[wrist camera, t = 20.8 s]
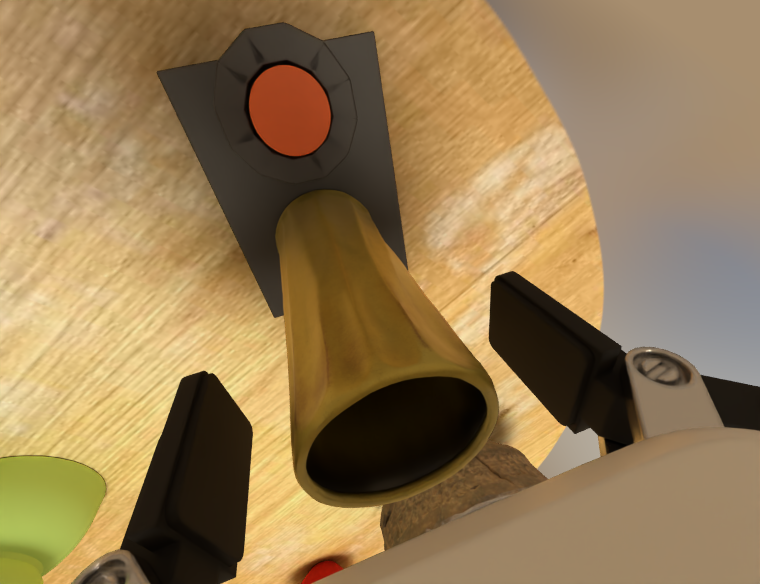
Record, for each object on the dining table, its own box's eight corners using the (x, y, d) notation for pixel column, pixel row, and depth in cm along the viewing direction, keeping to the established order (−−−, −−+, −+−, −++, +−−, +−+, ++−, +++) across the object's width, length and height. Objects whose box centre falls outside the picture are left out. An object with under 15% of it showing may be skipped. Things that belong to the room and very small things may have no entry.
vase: (365, 283, 21) (470, 494, 10) (273, 279, 19) (267, 541, 8) (381, 196, 19) (558, 345, 7) (277, 181, 17) (274, 357, 5)
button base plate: (157, 59, 14) (130, 48, 11) (366, 21, 15) (383, 4, 13) (274, 309, 22) (274, 334, 19) (403, 269, 23) (418, 288, 21)
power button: (240, 78, 13) (234, 73, 11) (313, 63, 13) (318, 57, 12) (268, 157, 15) (267, 164, 13) (332, 142, 15) (339, 147, 13)
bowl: (408, 394, 31) (455, 497, 23) (538, 406, 40) (605, 484, 32) (338, 508, 39) (354, 615, 31) (459, 497, 48) (497, 578, 40)
